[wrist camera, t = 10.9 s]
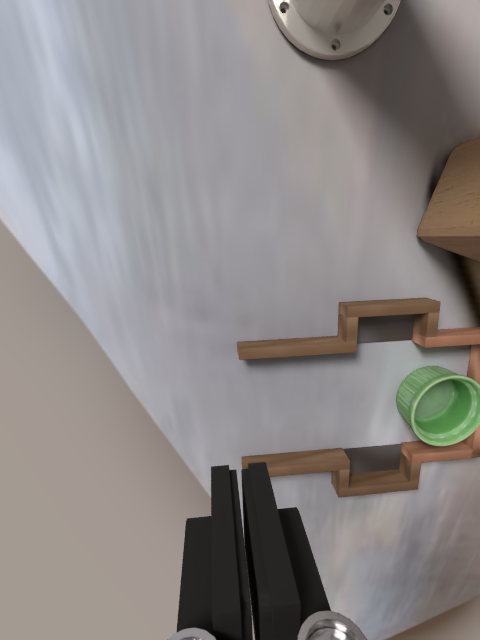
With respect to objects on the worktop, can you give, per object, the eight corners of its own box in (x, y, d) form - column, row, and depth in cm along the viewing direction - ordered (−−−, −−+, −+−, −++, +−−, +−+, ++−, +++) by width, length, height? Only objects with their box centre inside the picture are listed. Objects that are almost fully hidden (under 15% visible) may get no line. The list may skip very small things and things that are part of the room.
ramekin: (378, 388, 40) (398, 406, 36) (440, 347, 40) (467, 360, 36) (410, 438, 43) (432, 460, 38) (469, 399, 42) (499, 417, 38)
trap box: (235, 307, 36) (237, 312, 34) (488, 294, 38) (507, 298, 36) (243, 491, 42) (244, 506, 40) (460, 470, 44) (475, 483, 42)
